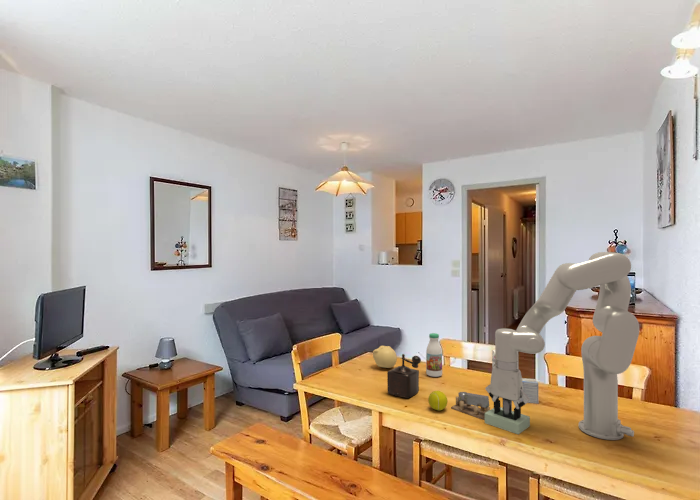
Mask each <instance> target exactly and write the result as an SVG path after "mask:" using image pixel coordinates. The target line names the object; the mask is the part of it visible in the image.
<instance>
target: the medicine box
mask: <svg viewBox="0 0 700 500" xmlns="http://www.w3.org/2000/svg"><path fill="white" fill-rule="evenodd" d="M522 383H523V391H524V392H525V393H526V395H527V396H528V397H529V398H530V401H529V402H528V403H527V404H536V405H537V404H538V405H539V403H540V402H539V382H538V381H537V379H535V378H525V377H524V378H523V377H522ZM520 400H521V402H522V401H523V400H524V399H523V397H522V398H520Z"/></svg>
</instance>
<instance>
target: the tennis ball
mask: <svg viewBox="0 0 700 500" xmlns="http://www.w3.org/2000/svg"><path fill="white" fill-rule="evenodd" d="M428 395H429V396H428V397H427V398H428V399H427V400H428V404H429V406H430V407H431V409H433V410H435V411H443V410H444V409H445V408H447V405H448V397H447V395H446V394H445V393H444V392H443V391H442V390H441V391H440V390H434V391H432V392H430V394H428Z"/></svg>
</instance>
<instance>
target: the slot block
mask: <svg viewBox="0 0 700 500" xmlns="http://www.w3.org/2000/svg"><path fill="white" fill-rule="evenodd" d="M530 421H531V417H530V416H529V415H526V414H523V413H521V417H520V418H518V419H517V420H514V410H512V419H509V418H506V417H503V407H502V406H500V412H498V413H494V407H493V408H490V410H489V411H488V412H486V413H485V420H484V424H487V425H490V426H493V427H495V428H499V429H501V430H505V431H507V432H510V433H513V434H514V435H515V434H516V435H520V434H521V433H522V432H524V431H526V430H527V429H528V428H529V427H530V426H531V424H530V423H531V422H530Z"/></svg>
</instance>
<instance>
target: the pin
mask: <svg viewBox="0 0 700 500" xmlns="http://www.w3.org/2000/svg"><path fill="white" fill-rule="evenodd" d="M512 404H513V401H511V400H508V399H504V398H502V408H503V417H506V418H509V419H512V411H513V407H512V406H513V405H512Z"/></svg>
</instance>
